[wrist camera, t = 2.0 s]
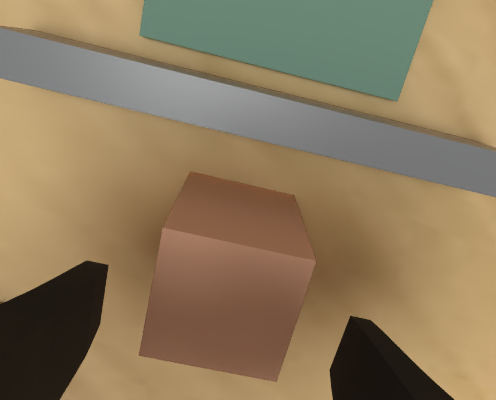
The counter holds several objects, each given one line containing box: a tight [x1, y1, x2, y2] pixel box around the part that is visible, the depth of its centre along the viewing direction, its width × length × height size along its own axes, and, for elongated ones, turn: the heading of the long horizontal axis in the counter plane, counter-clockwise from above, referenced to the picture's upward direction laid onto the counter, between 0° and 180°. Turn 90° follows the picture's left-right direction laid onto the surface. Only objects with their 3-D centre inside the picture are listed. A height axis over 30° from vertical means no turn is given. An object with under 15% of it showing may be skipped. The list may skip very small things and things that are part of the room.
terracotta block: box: [139, 172, 317, 382], centre depth 15 cm, size 4×4×6 cm
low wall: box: [0, 26, 496, 197], centre depth 15 cm, size 2×18×3 cm, turn 76°
